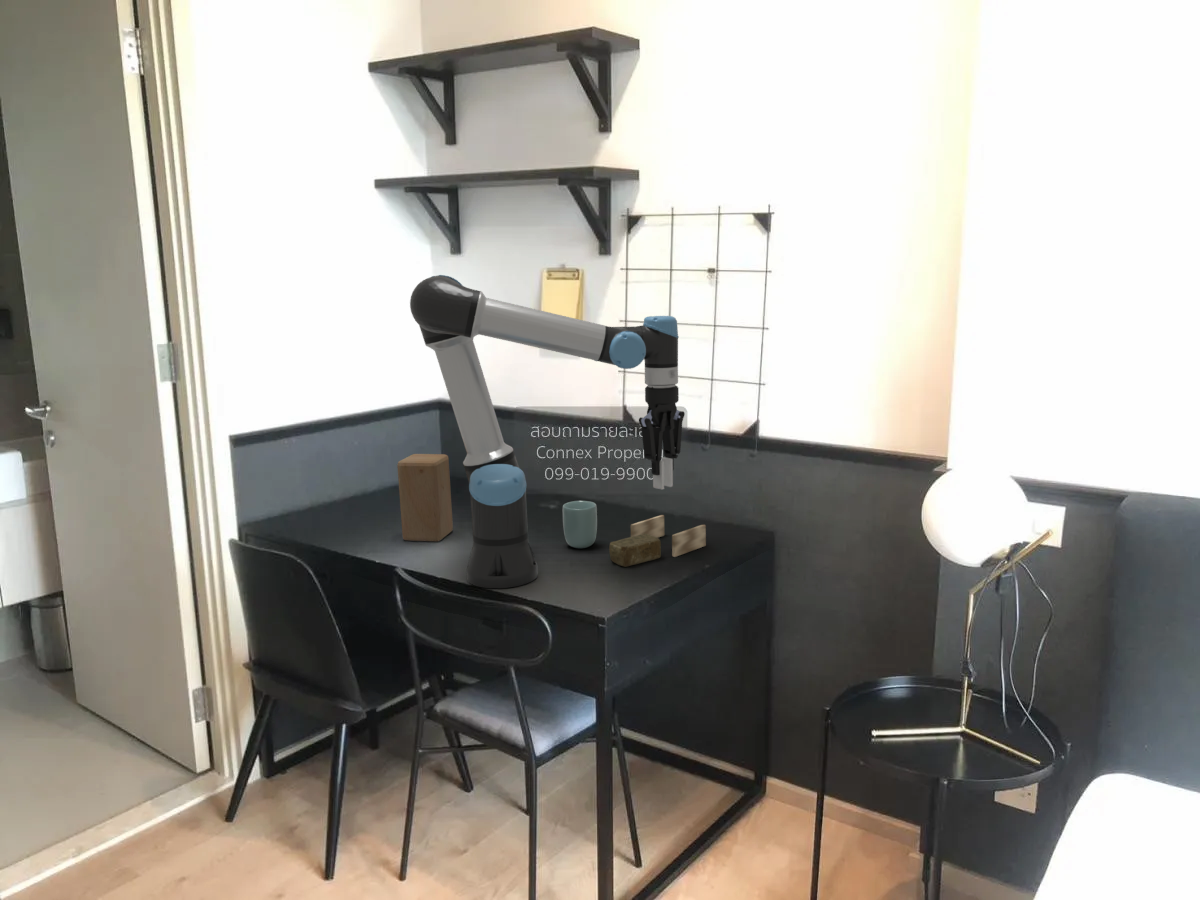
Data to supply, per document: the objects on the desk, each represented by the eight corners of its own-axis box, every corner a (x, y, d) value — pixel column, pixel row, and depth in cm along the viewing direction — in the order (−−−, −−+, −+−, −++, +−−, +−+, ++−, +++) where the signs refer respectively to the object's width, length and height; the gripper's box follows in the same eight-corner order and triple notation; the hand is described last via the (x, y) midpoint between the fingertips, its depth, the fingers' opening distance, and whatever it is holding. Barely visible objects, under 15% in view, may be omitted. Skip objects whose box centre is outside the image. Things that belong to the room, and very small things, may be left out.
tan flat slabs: (674, 557, 206) (674, 535, 205) (630, 545, 216) (630, 524, 215) (705, 545, 214) (705, 525, 213) (662, 534, 223) (661, 514, 222)
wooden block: (439, 542, 222) (434, 462, 218) (401, 541, 224) (395, 461, 220) (454, 531, 232) (449, 453, 228) (417, 529, 234) (411, 452, 230)
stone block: (607, 562, 204) (607, 541, 203) (647, 552, 211) (647, 531, 210) (623, 569, 200) (623, 547, 199) (664, 558, 206) (663, 537, 205)
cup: (579, 539, 222) (577, 499, 220) (604, 544, 217) (602, 503, 215) (557, 547, 216) (555, 506, 214) (582, 553, 211) (581, 511, 209)
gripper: (651, 390, 198) (652, 496, 203) (696, 382, 209) (697, 483, 214) (626, 388, 204) (628, 490, 208) (671, 380, 214) (672, 478, 219)
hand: (663, 486), depth 211 cm, fingers open, 2 cm apart
